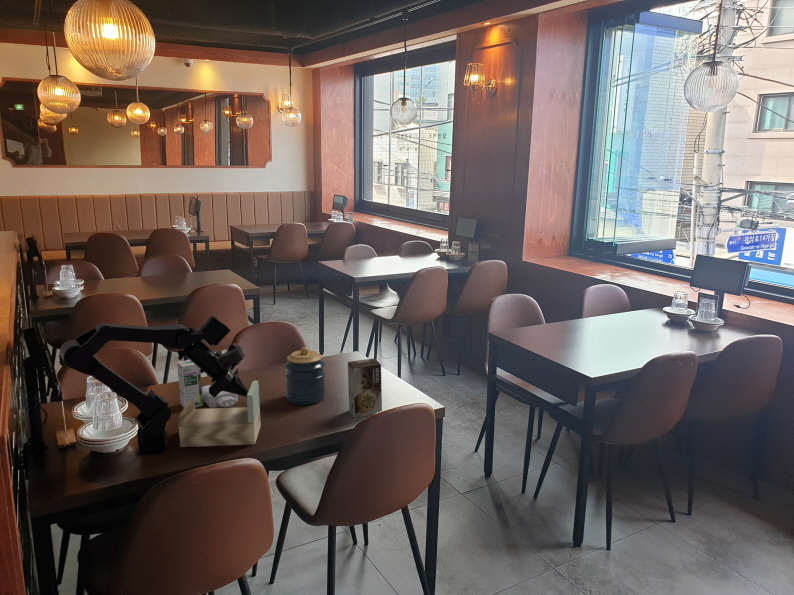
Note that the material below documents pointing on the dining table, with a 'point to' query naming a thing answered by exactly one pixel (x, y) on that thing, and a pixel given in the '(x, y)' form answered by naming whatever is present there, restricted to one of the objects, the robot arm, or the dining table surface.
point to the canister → (305, 377)
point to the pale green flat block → (253, 401)
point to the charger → (218, 398)
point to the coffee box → (364, 387)
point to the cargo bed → (216, 426)
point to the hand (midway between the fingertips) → (248, 395)
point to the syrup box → (189, 383)
